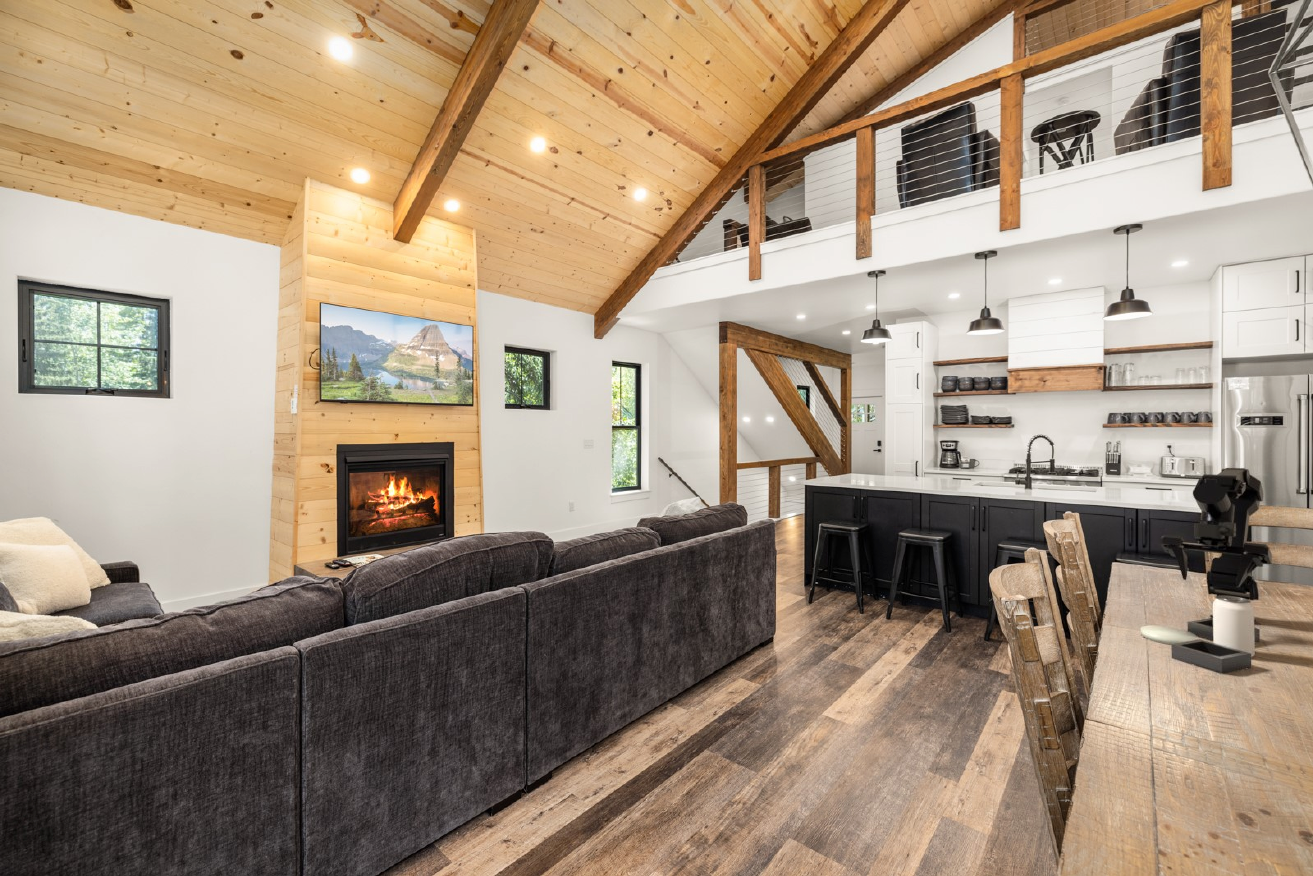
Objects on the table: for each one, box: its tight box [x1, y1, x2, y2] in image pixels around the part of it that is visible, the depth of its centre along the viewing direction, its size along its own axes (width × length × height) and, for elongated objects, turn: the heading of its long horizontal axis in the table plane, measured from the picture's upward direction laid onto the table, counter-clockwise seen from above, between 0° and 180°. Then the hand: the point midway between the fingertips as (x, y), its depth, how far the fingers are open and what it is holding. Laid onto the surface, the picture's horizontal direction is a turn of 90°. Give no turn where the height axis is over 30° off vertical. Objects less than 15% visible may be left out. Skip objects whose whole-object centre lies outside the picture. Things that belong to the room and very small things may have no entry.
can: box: [1212, 596, 1256, 658], centre depth 129 cm, size 6×6×12 cm
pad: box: [1140, 624, 1198, 646], centre depth 138 cm, size 10×10×2 cm
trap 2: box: [1186, 617, 1261, 643], centre depth 138 cm, size 9×9×3 cm
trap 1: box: [1170, 638, 1252, 674], centre depth 124 cm, size 9×9×3 cm
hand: (1210, 582), depth 137 cm, fingers open, 9 cm apart
